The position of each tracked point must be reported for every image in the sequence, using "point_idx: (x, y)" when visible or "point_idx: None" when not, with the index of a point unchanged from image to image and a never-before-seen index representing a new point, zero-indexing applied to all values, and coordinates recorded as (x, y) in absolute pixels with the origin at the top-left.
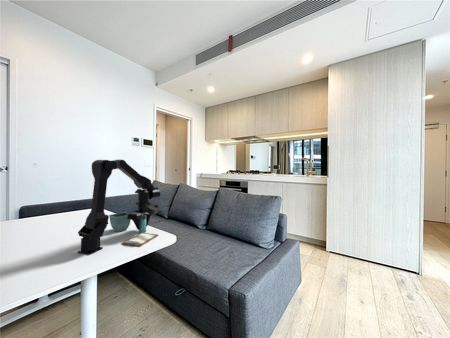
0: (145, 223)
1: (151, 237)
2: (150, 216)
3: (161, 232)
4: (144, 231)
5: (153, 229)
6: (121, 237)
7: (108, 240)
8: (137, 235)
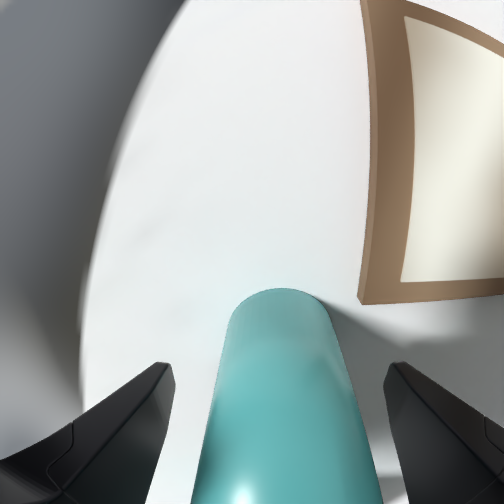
0: (301, 416)
1: (492, 52)
2: (6, 488)
3: (198, 19)
4: (303, 302)
5: (110, 244)
6: (461, 394)
7: (494, 407)
8: (471, 285)
